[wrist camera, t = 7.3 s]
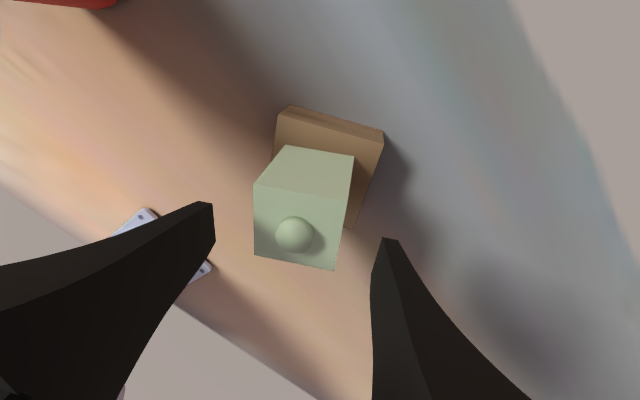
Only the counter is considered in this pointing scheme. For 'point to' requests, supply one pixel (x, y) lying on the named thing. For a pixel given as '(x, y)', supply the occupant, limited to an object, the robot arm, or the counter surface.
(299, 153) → the sage brick
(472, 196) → the counter surface
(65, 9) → the counter surface
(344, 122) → the walnut block
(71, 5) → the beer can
